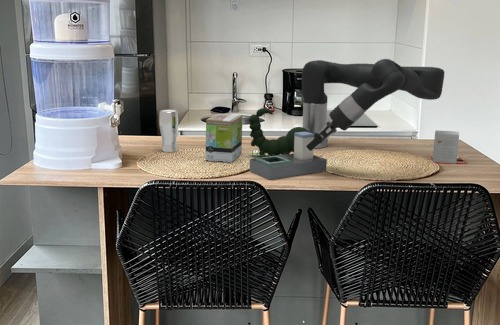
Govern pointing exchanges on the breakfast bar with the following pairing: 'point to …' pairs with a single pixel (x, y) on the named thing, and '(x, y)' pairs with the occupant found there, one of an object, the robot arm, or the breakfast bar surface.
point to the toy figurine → (272, 146)
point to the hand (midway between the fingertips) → (311, 146)
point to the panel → (286, 166)
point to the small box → (445, 146)
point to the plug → (302, 145)
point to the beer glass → (169, 130)
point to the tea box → (223, 137)
